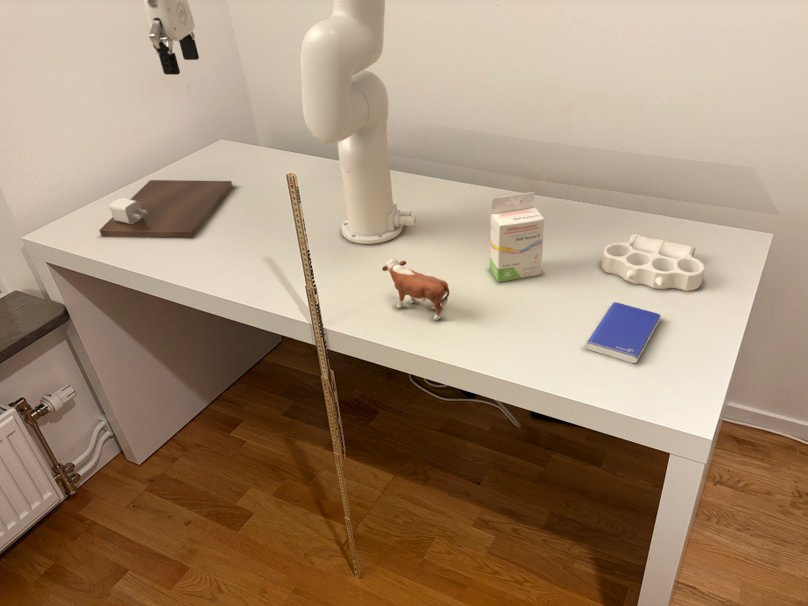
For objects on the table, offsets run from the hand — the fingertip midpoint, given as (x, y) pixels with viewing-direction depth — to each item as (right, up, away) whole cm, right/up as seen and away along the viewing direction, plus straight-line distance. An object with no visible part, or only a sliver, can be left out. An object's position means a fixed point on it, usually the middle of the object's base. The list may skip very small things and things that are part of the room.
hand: (182, 66), depth 143 cm
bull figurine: (+49, -51, -22) cm, 74 cm away
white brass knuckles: (+92, -44, -15) cm, 103 cm away
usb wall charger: (-12, -31, +5) cm, 34 cm away
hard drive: (+83, -56, -30) cm, 105 cm away
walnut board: (-7, -28, +11) cm, 31 cm away
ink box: (+67, -44, -14) cm, 82 cm away
